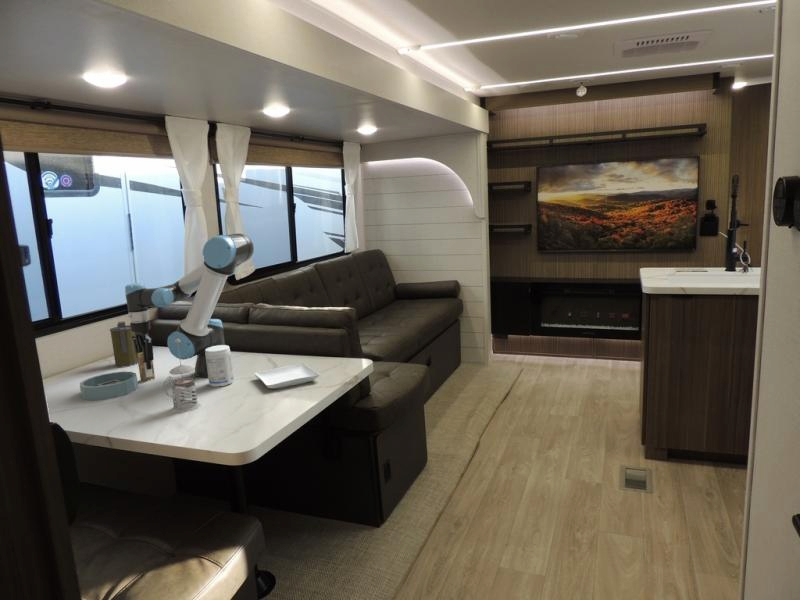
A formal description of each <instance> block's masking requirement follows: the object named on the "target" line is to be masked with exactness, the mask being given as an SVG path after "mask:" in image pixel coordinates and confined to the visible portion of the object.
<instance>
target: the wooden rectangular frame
mask: <svg viewBox="0 0 800 600" xmlns="http://www.w3.org/2000/svg"><path fill="white" fill-rule="evenodd" d="M137 358H138V364H137V365H138V371H139V372H138V373H139V378H140V382H142V381H143V383H145V382H148V380H149V381H151V379H153V380H155V379H156V376H155V368H154V362H153V361H154V360H152V361H151V366H152V373H153V376H151V377H147V378H146V376H145V369H144V363H143V361H144V356H143V352H140V353H137ZM154 378H155V379H154ZM144 381H145V382H144Z"/></svg>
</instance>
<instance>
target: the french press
mask: <svg viewBox="0 0 800 600" xmlns="http://www.w3.org/2000/svg"><path fill="white" fill-rule="evenodd" d="M178 342H181V341H180V339H176V340H175V343H178ZM178 350H179V346H178ZM179 358H180V353H179ZM179 364H180V365H177V366H174V367H173V368H172V369H170V370H169V371H168V372H169V374H170V375H181V378H178V379H176V380H174V378H173V377H172V376H168V377H167V378H165V380H164V382H163V386H162V388H163V392H164V394H165V396H168V397H170V398H172V403H173V407H172V408H171V411H172V413H187V412H192V411H195V410H197V409H199V408H200V407H201V406H202V405H201V403H200V402H198V397H197V390H196V383H195V382H194V378H193V377H192V378H191V377H185V378H184V377H183V374H188V373H190V372H193V371H194V370H195V367H193V366H190V365H187V364H182V361H181V360H179ZM169 380H170V381H171V383H172V386H171V391H172V395H170V394H169V393H168V391H167V384H168V382H169Z"/></svg>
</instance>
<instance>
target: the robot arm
mask: <svg viewBox="0 0 800 600" xmlns="http://www.w3.org/2000/svg"><path fill="white" fill-rule="evenodd" d="M254 250H255V247H254V243H253V241H252V240H251V238H250V237H249V236H247V235H245V234H243V233H231V234H218V235H216V236H213V237H210V238H209V239H207V241H205V243H204V245H203V248H202V256H203V260H204V261H203V263H202V264H201V265H198V267H196V268H195V269H193V270H192V271H190V272H189V273H187V274H186V275H185V276H183V277H181V278H180V279H179V280H177V281H175V282H174V283H172V284H168V285H166V286H165V285H164V286H160V287H155V288H153V287H152V288H146V286H145V283H142V282H139V283H137V282H136V283H130V284H127V285H125V286H124V291H125V292H124V293H125V301H126V305H127V312H128V314H127V317H128V319H129V322H130V323H129V325H130V328H131V331H132V332H135V335H134V336H132V340H133V343H134V348H135V353H136V358H137V353H140V352H143V356H144V361H143V363H144V369H145V376H146V378H147V377H151V376H153V373H152V366H151V361H152V360H153V361H154V359H155V358H154V349H153V348H154V346H153V341H154V340H153V339H154V338H153V337H150V334H149V332H148V331H149V330H150V329H151V321H150V314H149V313H150V311H149V308H166V307H170V306H171V305H172V304H174V303H178V302H180V301H185V300H187V299H190V297H192V294H193V293H195V292H196V293H195V294H194V298H193V301H192V303H191V304H190V307H189V310H188V313H187V315H186V317H185V318H184V319H181V320H180V322H179V325H178V327H177V328H176V331H173V332H172V333H170V334H169V335H168V337H167V348H168V349H169V351H170V353H171V355H172V356H173V357H174V358H176V359H179V360H189V359H192V358H194V357H196V361H195V365H194V366H195V367H194V375H195V376H196V377H200V378H208V371H207V364H206V356H205V349H207V348H209V347H212V346H218V345H226V344H225V335H224V327H223V321H222V320H221V319H219V318H212V315H213V314H214V310H215V309H216V306H217V303H218V301H219V299H220V296H221V294H222V291H223V289H224V286H225V284H226V282H227V279H228V277H230V276H232V275H234V273H235V270H236V268H238V267H239V266H241V265H242V264H244V263H246V262H248V261H249V260H250V259H251V258H252V256H253V255H254ZM176 339H180V341H181V342H178V343H175V340H176ZM178 346H179V350H178ZM179 353H180V358H179ZM137 359H138V358H137Z"/></svg>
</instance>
